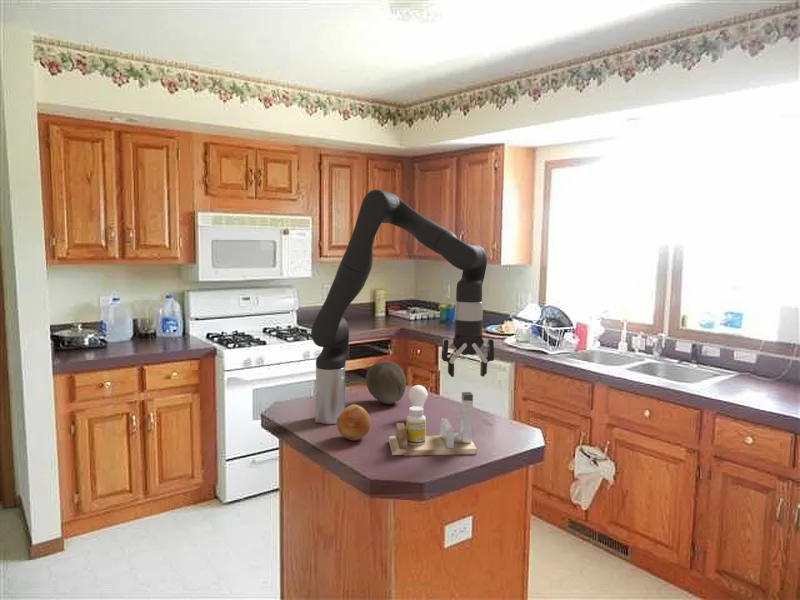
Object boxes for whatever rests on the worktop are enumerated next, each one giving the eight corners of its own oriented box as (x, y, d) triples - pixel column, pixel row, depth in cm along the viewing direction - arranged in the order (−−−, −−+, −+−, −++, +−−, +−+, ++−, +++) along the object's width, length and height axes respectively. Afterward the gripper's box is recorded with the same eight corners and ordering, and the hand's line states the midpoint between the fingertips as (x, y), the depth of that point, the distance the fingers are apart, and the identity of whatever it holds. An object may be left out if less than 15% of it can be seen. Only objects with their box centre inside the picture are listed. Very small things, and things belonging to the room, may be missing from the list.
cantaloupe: (404, 397, 211) (405, 357, 209) (406, 409, 197) (407, 366, 195) (365, 397, 210) (366, 357, 209) (365, 409, 196) (365, 365, 195)
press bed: (392, 455, 154) (392, 435, 154) (388, 441, 165) (389, 422, 165) (476, 454, 157) (477, 434, 156) (468, 440, 168) (468, 421, 167)
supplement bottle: (409, 438, 164) (410, 404, 163) (427, 440, 162) (428, 406, 161) (403, 444, 159) (404, 409, 158) (422, 447, 157) (423, 412, 156)
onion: (332, 435, 169) (332, 402, 168) (363, 431, 173) (364, 399, 172) (342, 446, 160) (342, 411, 159) (375, 442, 164) (376, 408, 163)
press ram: (446, 447, 156) (447, 398, 155) (439, 435, 166) (441, 389, 165) (474, 447, 157) (475, 398, 156) (466, 434, 167) (467, 388, 165)
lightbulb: (427, 416, 189) (428, 383, 188) (426, 422, 183) (427, 388, 182) (409, 415, 190) (409, 382, 189) (407, 421, 184) (408, 387, 183)
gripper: (445, 319, 153) (444, 379, 155) (497, 319, 155) (496, 379, 156) (440, 316, 161) (439, 373, 162) (490, 316, 162) (489, 372, 164)
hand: (467, 376), depth 159 cm, fingers open, 8 cm apart
